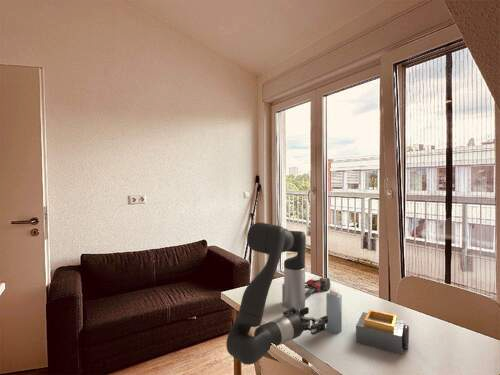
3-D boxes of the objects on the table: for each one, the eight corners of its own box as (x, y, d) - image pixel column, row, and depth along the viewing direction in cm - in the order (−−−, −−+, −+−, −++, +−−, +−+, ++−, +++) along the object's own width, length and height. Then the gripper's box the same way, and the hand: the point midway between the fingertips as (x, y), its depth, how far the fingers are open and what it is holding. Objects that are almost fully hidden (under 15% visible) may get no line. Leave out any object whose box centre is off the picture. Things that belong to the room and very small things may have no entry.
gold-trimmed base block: (355, 342, 101) (356, 319, 101) (363, 327, 112) (363, 306, 111) (406, 356, 93) (407, 331, 93) (409, 339, 104) (409, 316, 103)
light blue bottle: (324, 330, 110) (324, 291, 109) (328, 324, 114) (328, 287, 114) (339, 334, 107) (339, 294, 106) (343, 328, 111) (343, 289, 111)
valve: (308, 284, 164) (334, 286, 155) (285, 302, 143) (314, 305, 134) (306, 273, 164) (332, 274, 155) (283, 289, 143) (311, 291, 134)
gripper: (301, 325, 89) (334, 310, 99) (269, 309, 100) (301, 297, 110) (301, 350, 89) (334, 332, 99) (269, 331, 100) (301, 317, 110)
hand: (317, 314), depth 104 cm, fingers open, 8 cm apart
